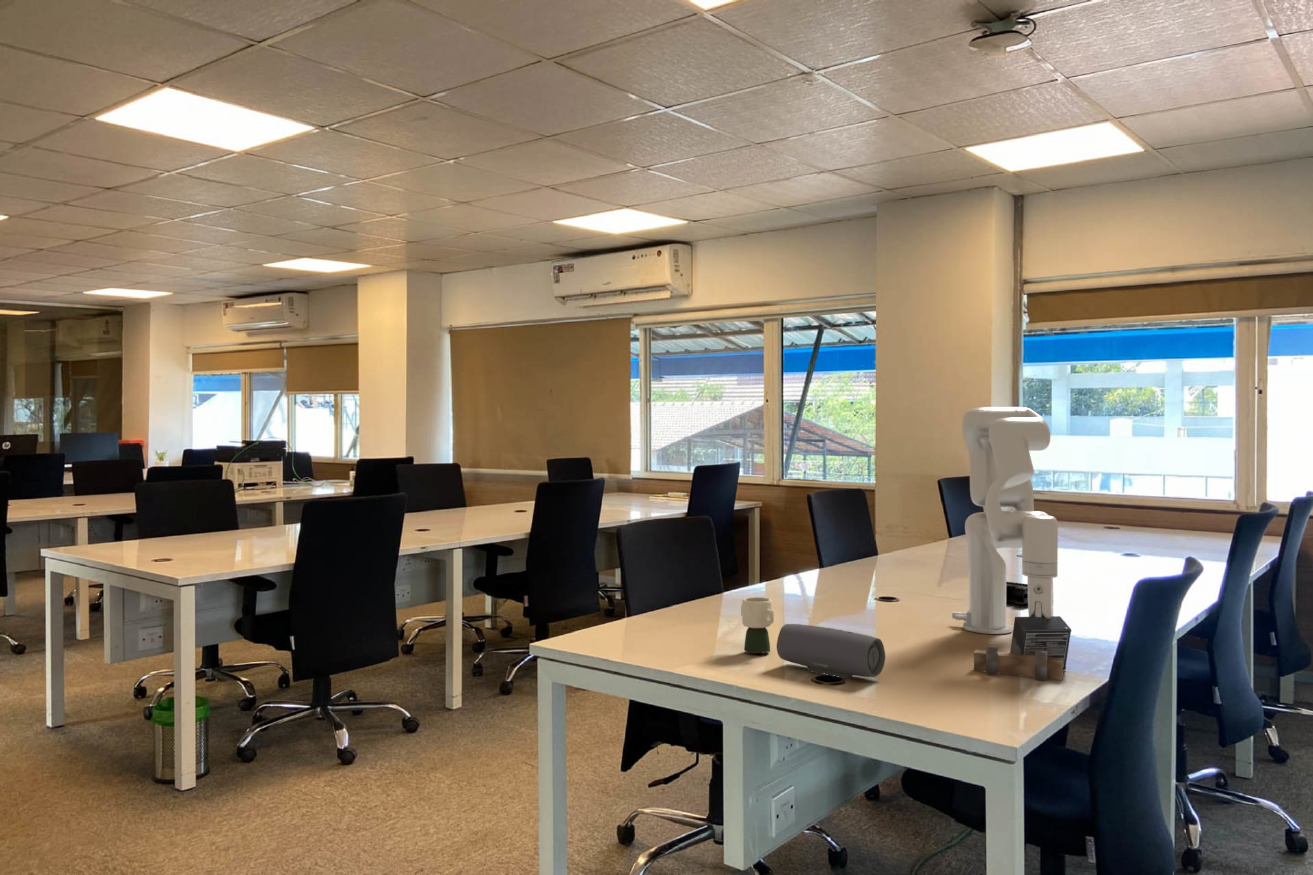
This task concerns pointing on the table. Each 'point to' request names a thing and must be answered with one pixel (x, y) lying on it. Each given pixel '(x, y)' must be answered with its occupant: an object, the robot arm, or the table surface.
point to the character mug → (757, 623)
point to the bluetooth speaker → (831, 650)
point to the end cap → (1017, 594)
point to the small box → (1041, 637)
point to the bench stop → (1018, 664)
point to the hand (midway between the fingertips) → (1039, 648)
